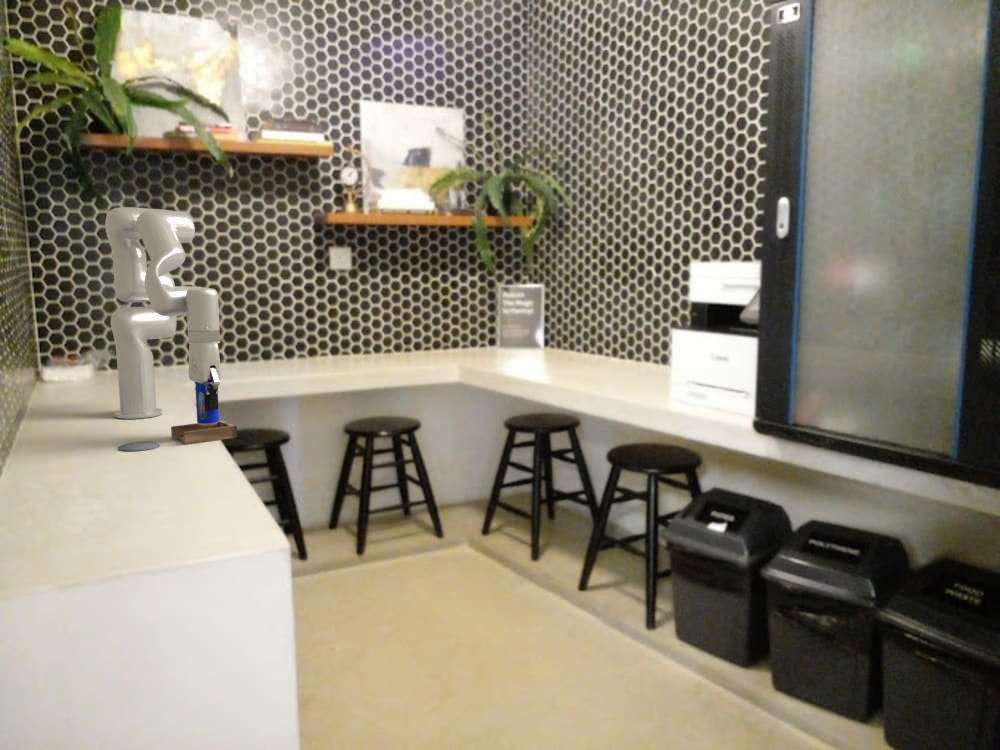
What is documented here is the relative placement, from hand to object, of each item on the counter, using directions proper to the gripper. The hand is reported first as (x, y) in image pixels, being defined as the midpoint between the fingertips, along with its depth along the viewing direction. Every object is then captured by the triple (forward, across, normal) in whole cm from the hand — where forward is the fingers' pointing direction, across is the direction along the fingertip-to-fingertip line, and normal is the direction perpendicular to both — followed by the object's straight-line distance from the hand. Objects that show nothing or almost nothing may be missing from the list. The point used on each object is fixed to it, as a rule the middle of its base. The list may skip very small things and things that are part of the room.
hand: (207, 407), depth 192 cm
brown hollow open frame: (+8, 0, -1) cm, 8 cm away
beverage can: (+4, 0, 0) cm, 4 cm away
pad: (+8, 0, -17) cm, 19 cm away
